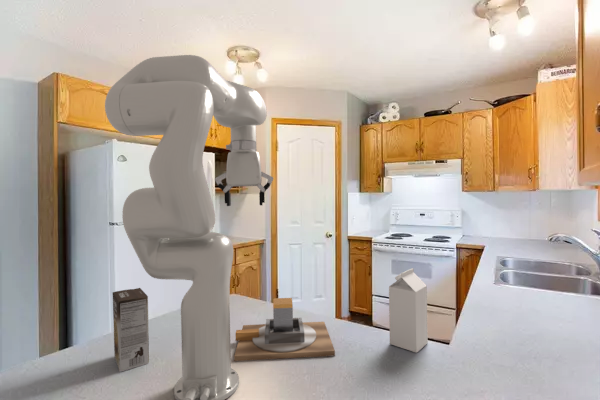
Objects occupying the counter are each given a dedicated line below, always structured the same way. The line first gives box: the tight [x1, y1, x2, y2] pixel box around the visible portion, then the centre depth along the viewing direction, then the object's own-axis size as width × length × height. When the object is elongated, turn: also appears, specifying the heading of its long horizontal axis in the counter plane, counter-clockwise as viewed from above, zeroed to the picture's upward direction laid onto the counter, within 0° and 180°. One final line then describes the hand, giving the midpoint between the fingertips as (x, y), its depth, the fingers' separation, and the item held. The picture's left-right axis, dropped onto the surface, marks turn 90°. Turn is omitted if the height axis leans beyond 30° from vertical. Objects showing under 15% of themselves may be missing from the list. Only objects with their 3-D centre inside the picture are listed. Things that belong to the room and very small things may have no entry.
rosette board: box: [233, 317, 336, 362], centre depth 84 cm, size 18×25×4 cm
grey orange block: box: [272, 297, 294, 332], centre depth 83 cm, size 5×5×9 cm
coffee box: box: [112, 287, 150, 373], centre depth 75 cm, size 9×6×16 cm
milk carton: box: [388, 267, 429, 353], centre depth 81 cm, size 7×7×19 cm
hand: (245, 205), depth 94 cm, fingers open, 9 cm apart
